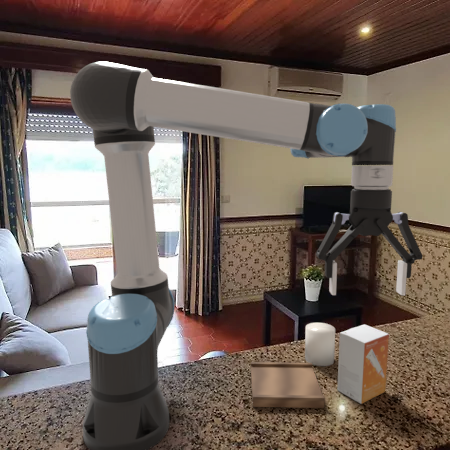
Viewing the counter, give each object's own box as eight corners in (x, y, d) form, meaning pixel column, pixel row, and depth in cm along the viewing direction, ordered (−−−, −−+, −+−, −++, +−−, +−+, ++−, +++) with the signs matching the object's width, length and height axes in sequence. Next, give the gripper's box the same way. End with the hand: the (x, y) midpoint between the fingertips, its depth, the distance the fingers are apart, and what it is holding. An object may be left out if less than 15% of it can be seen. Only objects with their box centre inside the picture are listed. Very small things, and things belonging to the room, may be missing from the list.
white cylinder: (307, 366, 93) (308, 334, 92) (301, 348, 102) (302, 318, 101) (337, 366, 93) (338, 334, 92) (328, 348, 102) (329, 319, 101)
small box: (361, 405, 78) (364, 343, 76) (336, 390, 83) (338, 332, 81) (386, 392, 82) (390, 333, 80) (361, 379, 87) (363, 323, 85)
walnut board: (252, 406, 77) (252, 396, 77) (250, 370, 91) (250, 362, 91) (324, 407, 77) (324, 398, 77) (311, 371, 91) (311, 362, 90)
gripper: (310, 189, 73) (307, 299, 76) (446, 188, 72) (438, 299, 75) (303, 187, 80) (301, 287, 84) (427, 186, 80) (420, 287, 83)
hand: (366, 293), depth 79 cm, fingers open, 13 cm apart
